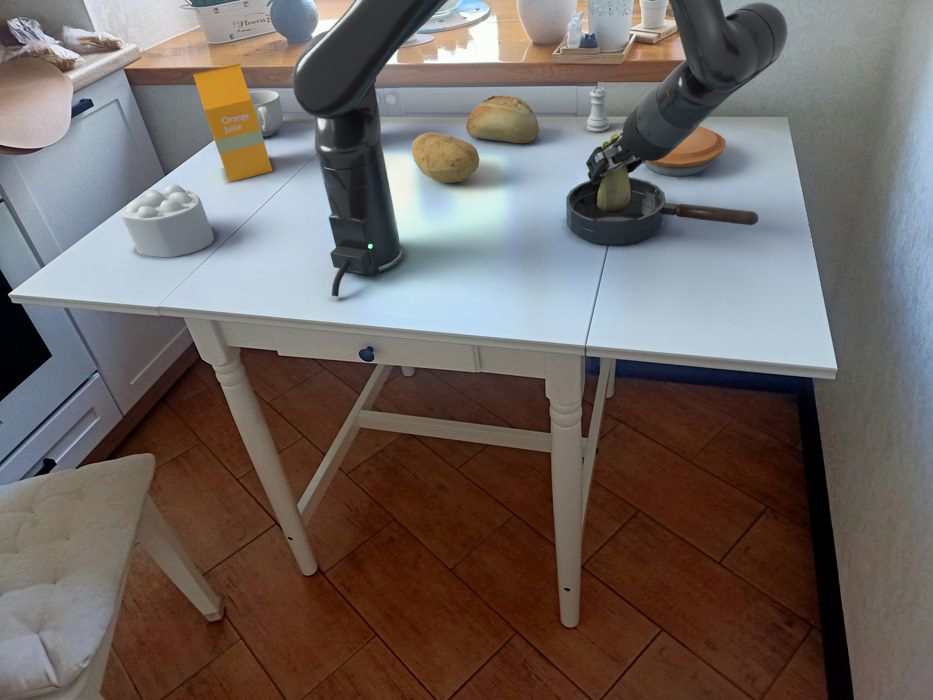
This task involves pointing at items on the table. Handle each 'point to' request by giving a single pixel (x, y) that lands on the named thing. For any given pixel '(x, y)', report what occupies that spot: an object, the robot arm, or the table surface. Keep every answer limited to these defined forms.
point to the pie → (690, 154)
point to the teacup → (267, 111)
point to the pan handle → (711, 213)
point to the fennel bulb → (614, 186)
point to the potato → (445, 157)
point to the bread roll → (503, 120)
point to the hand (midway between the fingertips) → (609, 172)
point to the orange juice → (233, 122)
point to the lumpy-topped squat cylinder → (167, 222)
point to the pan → (615, 214)
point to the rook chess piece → (598, 111)
